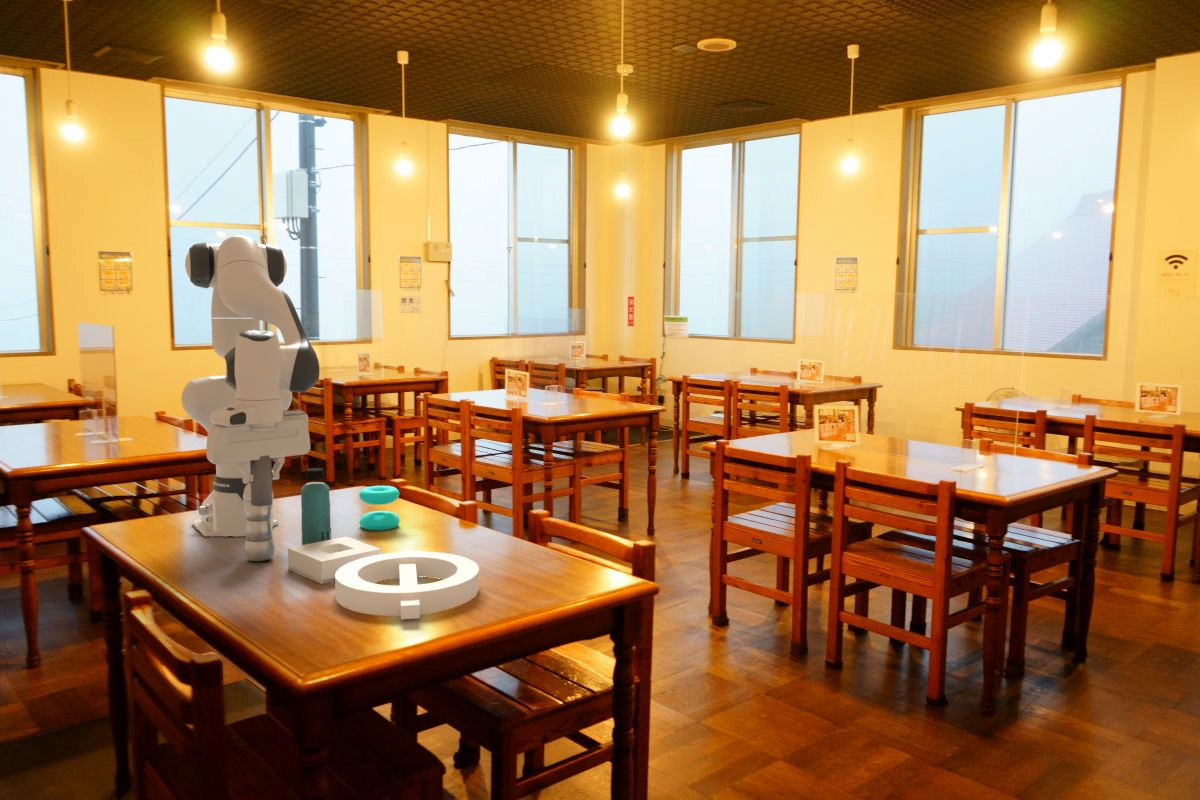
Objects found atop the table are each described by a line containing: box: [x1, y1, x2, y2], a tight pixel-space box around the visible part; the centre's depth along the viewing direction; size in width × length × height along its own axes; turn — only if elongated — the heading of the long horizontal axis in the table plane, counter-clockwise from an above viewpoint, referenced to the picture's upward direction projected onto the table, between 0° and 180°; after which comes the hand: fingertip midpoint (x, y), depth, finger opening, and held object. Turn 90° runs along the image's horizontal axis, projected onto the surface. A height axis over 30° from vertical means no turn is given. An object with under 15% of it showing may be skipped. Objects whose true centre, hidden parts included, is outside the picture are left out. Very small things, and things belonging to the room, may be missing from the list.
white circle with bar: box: [334, 550, 480, 620], centre depth 182 cm, size 28×28×5 cm
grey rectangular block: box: [250, 455, 273, 506], centre depth 182 cm, size 4×4×10 cm
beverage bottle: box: [300, 467, 332, 545], centre depth 206 cm, size 6×7×20 cm
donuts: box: [358, 485, 401, 531], centre depth 233 cm, size 10×10×10 cm
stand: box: [287, 536, 382, 584], centre depth 196 cm, size 14×14×5 cm
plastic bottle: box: [243, 472, 276, 562], centre depth 201 cm, size 6×7×20 cm
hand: (261, 481), depth 182 cm, fingers closed on grey rectangular block, 4 cm apart
